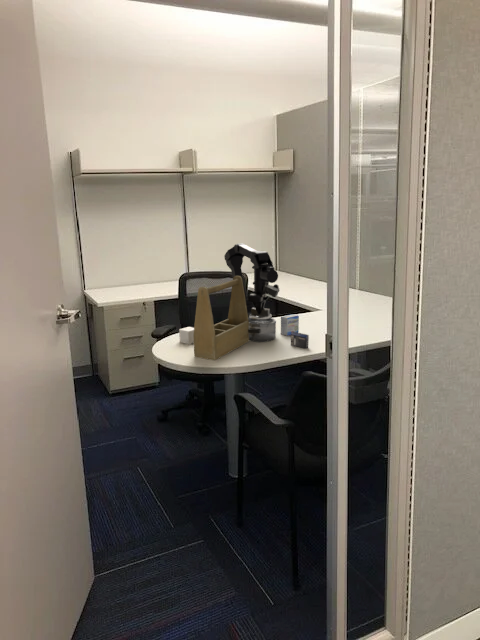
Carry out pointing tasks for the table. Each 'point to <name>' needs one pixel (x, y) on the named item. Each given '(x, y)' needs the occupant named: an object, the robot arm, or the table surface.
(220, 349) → the caddy
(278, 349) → the table surface
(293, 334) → the mini dv tape
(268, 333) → the pot
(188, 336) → the white cube
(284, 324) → the medicine box
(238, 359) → the table surface
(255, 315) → the lid
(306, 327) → the table surface
